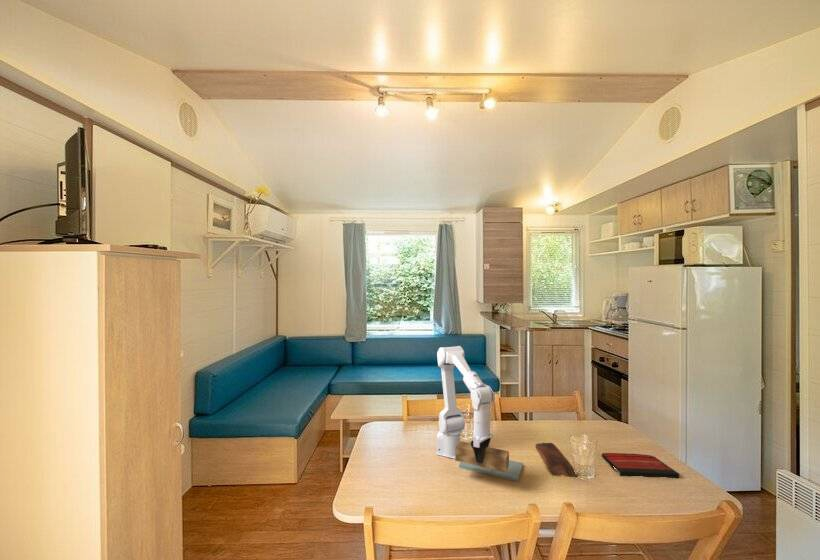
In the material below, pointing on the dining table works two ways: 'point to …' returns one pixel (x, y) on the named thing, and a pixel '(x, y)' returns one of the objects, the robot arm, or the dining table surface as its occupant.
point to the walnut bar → (492, 457)
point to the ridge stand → (511, 473)
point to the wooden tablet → (555, 460)
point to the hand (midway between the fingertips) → (481, 458)
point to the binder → (639, 465)
